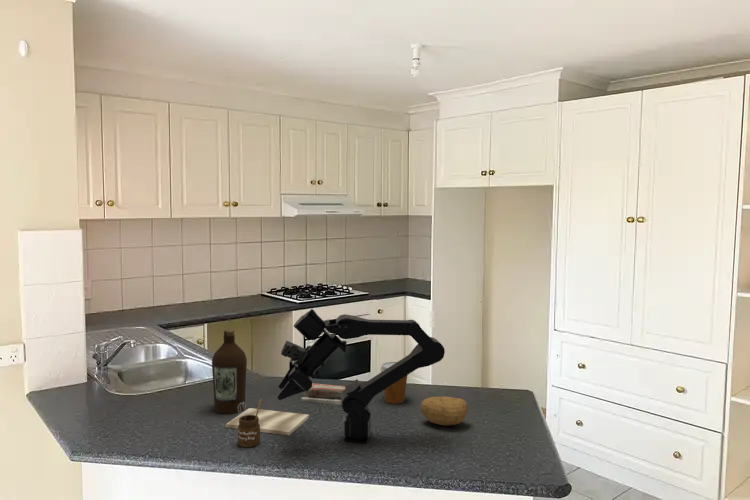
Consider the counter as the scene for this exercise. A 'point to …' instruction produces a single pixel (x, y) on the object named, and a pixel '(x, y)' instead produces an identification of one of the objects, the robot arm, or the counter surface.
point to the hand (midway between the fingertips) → (279, 393)
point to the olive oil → (229, 376)
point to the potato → (444, 410)
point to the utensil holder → (249, 429)
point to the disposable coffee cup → (394, 387)
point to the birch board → (273, 421)
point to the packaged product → (323, 394)
